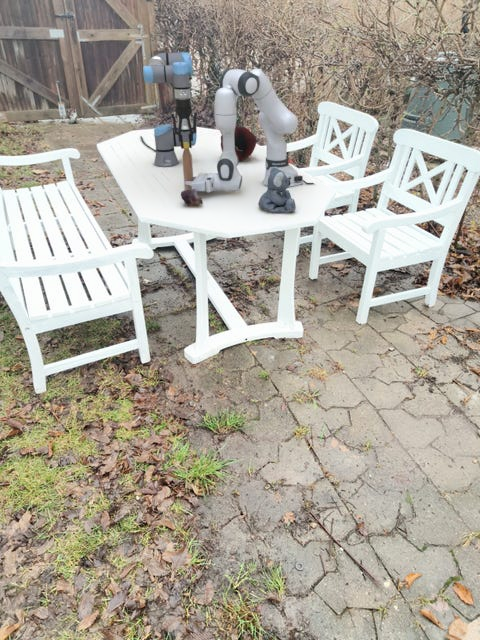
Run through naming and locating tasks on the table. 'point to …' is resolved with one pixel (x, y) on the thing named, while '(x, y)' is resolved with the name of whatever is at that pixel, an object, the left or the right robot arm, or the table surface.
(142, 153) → the table surface
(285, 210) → the koala plush
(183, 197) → the rock
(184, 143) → the cap
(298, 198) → the table surface
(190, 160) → the bottle
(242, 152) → the decorative skull
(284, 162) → the right robot arm
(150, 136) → the table surface
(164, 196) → the table surface
